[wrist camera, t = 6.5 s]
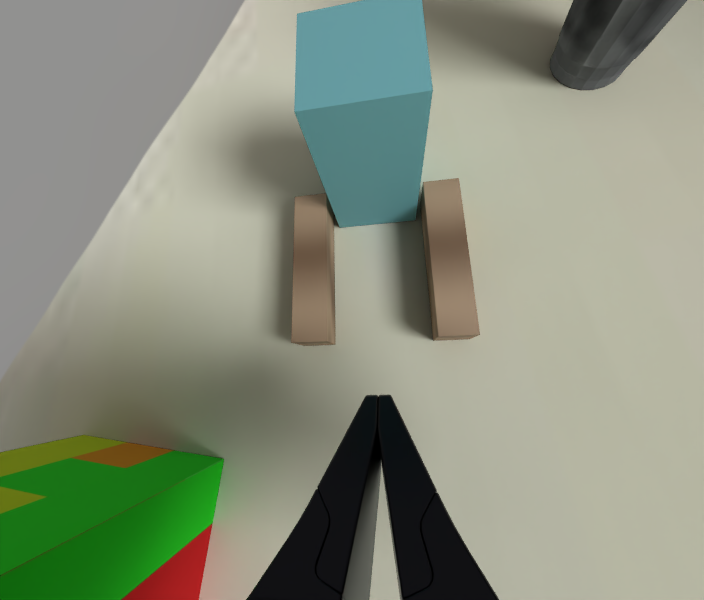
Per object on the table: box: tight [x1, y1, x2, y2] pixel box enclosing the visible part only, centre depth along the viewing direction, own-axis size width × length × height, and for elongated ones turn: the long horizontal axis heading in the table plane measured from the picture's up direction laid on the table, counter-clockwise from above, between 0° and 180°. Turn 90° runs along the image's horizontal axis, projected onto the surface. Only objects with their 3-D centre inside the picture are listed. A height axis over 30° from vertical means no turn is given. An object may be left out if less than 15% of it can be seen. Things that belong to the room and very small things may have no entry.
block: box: [294, 0, 433, 228], centre depth 15 cm, size 5×5×9 cm
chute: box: [291, 178, 480, 346], centre depth 17 cm, size 9×10×2 cm
